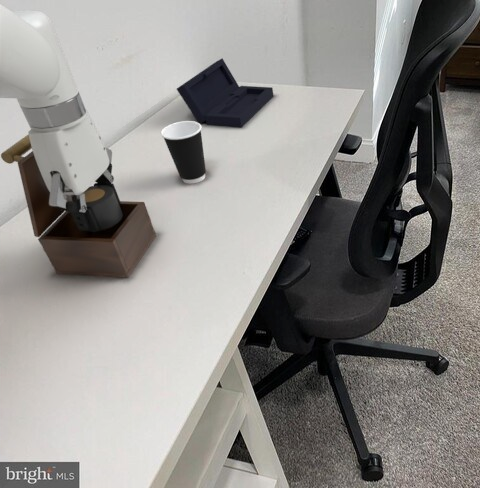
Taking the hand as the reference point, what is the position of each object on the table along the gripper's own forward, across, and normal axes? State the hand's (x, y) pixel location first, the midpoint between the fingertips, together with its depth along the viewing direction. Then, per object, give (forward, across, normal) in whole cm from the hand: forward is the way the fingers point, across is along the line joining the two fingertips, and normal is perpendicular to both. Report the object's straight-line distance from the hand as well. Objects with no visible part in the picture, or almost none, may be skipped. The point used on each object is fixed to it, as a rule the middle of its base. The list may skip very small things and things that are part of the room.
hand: (100, 216), depth 77 cm
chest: (+8, 0, -2) cm, 8 cm away
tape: (+1, 0, 0) cm, 1 cm away
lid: (-6, 0, -6) cm, 8 cm away
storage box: (+8, -62, +2) cm, 62 cm away
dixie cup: (+8, -26, +4) cm, 27 cm away
